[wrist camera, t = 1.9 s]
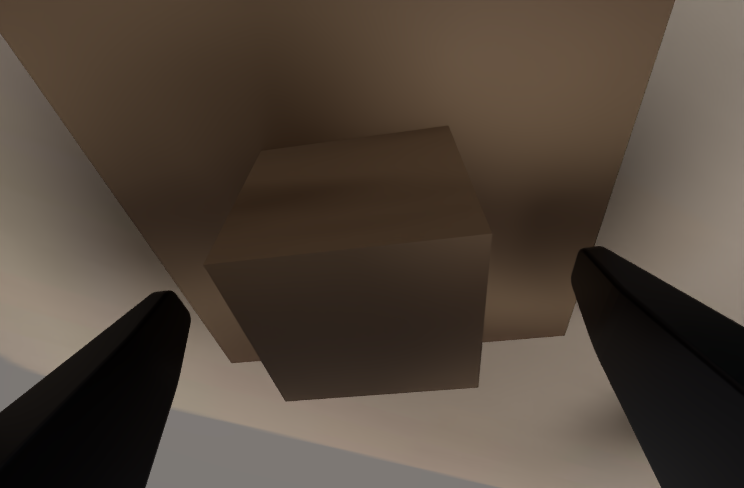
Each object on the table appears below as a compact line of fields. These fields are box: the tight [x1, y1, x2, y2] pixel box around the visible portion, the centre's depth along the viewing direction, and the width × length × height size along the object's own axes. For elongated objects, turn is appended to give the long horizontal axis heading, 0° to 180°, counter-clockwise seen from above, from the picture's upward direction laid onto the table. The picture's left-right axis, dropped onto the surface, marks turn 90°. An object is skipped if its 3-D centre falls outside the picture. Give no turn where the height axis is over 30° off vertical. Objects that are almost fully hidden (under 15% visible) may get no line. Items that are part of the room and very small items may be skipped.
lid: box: [0, 0, 675, 401], centre depth 9 cm, size 13×13×5 cm
